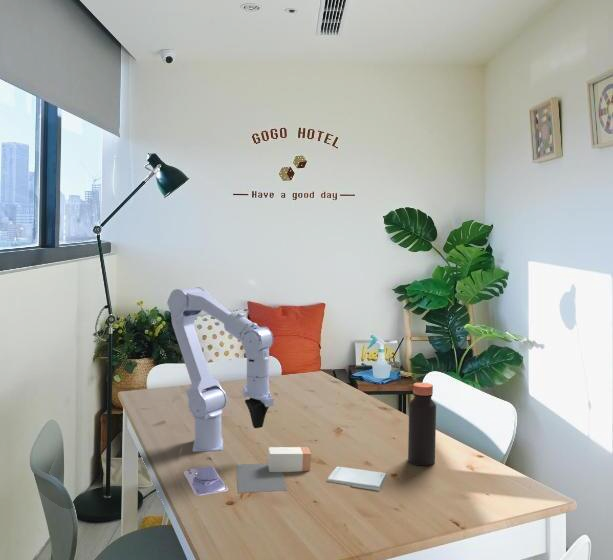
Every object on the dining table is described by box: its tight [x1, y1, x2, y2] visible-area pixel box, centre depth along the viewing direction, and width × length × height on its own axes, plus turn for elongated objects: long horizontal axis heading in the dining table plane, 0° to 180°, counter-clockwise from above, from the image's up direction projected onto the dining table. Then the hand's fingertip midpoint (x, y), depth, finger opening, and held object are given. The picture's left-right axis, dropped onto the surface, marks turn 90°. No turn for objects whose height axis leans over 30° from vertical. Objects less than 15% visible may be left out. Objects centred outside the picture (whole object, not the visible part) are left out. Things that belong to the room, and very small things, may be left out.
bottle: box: [407, 382, 437, 467], centre depth 143 cm, size 7×7×20 cm
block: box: [267, 446, 312, 473], centre depth 138 cm, size 4×4×10 cm
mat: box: [236, 462, 288, 494], centre depth 133 cm, size 16×11×1 cm
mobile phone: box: [183, 466, 228, 496], centre depth 131 cm, size 8×1×15 cm
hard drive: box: [326, 466, 388, 492], centre depth 132 cm, size 2×8×12 cm
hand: (257, 427), depth 144 cm, fingers closed
